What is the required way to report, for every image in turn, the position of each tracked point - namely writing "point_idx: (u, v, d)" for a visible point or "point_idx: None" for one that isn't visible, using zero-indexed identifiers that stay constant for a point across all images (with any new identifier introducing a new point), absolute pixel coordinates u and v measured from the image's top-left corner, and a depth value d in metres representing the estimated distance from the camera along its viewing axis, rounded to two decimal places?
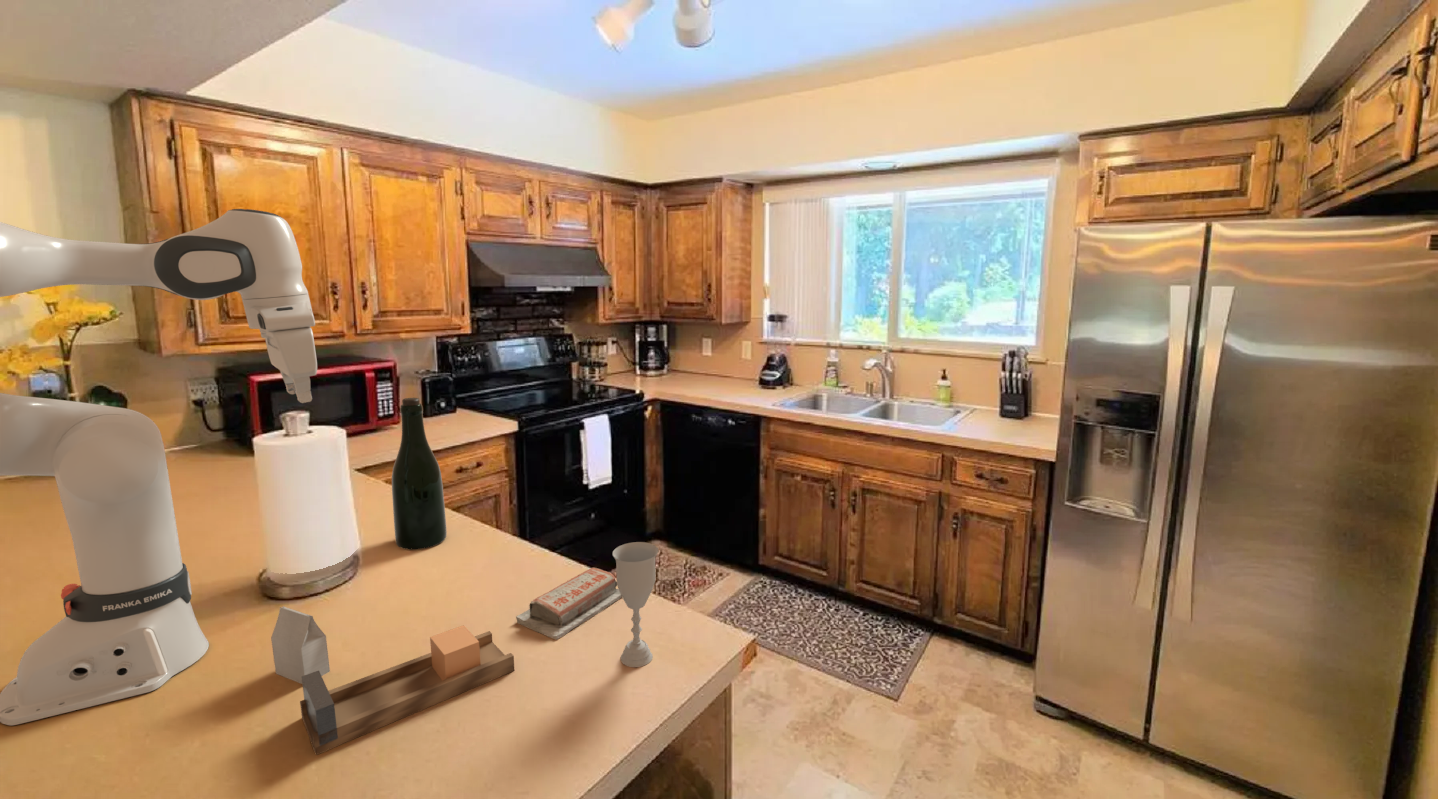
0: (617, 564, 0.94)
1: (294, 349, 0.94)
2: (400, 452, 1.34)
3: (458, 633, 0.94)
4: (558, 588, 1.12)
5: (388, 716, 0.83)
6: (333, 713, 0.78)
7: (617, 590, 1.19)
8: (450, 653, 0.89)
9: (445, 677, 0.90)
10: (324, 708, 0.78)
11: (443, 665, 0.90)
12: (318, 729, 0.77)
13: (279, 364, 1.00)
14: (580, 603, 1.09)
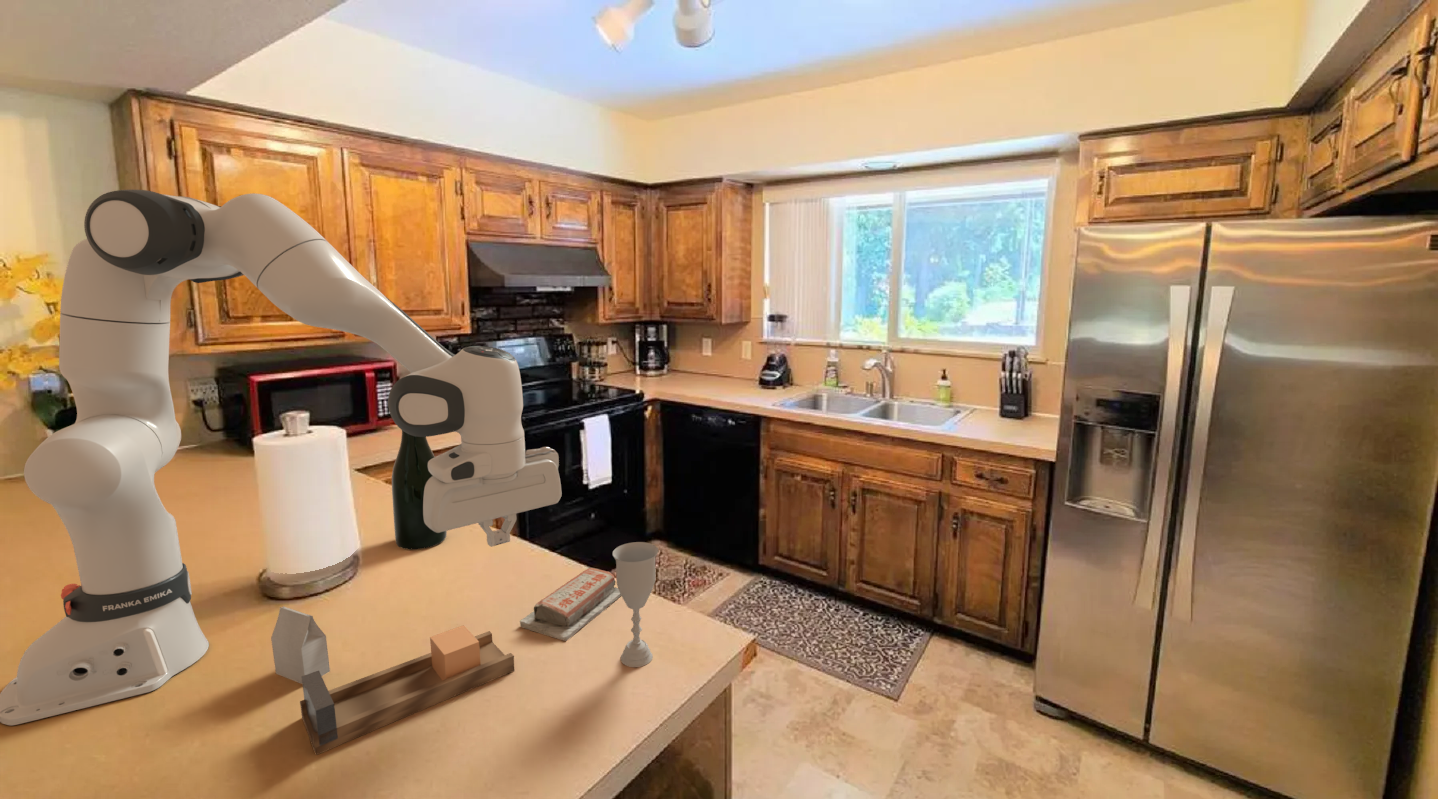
0: (617, 564, 0.94)
1: (426, 500, 0.87)
2: (400, 452, 1.34)
3: (458, 633, 0.94)
4: (560, 590, 1.11)
5: (388, 716, 0.83)
6: (333, 713, 0.78)
7: (616, 589, 1.19)
8: (450, 653, 0.89)
9: (445, 677, 0.90)
10: (324, 708, 0.78)
11: (443, 665, 0.90)
12: (318, 729, 0.77)
13: None
14: (584, 603, 1.09)
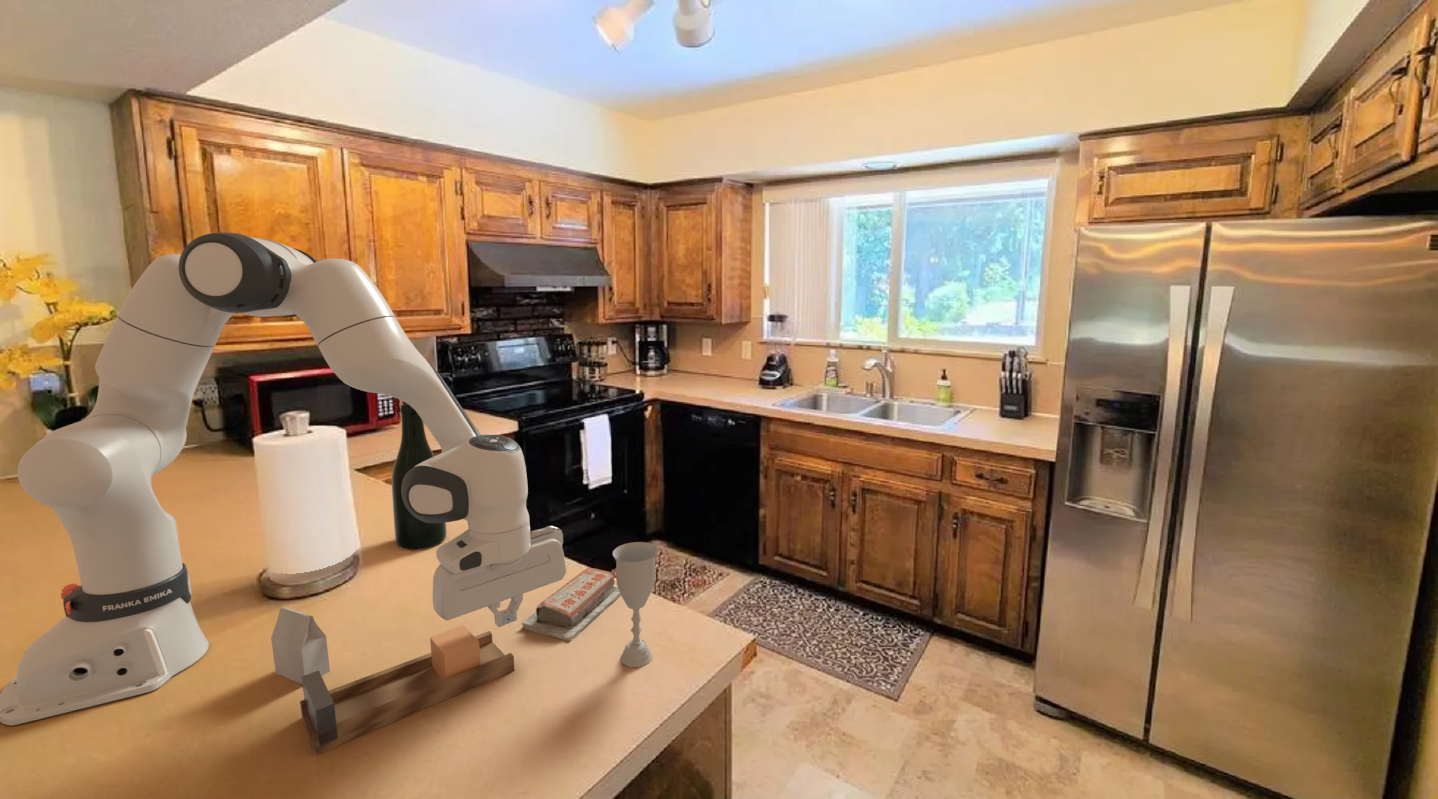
0: (617, 564, 0.94)
1: (436, 588, 0.90)
2: (400, 452, 1.34)
3: (458, 633, 0.94)
4: (561, 590, 1.11)
5: (388, 716, 0.83)
6: (333, 713, 0.78)
7: (615, 588, 1.19)
8: (450, 653, 0.89)
9: (445, 677, 0.90)
10: (324, 708, 0.78)
11: (443, 665, 0.90)
12: (318, 729, 0.77)
13: None
14: (586, 603, 1.09)
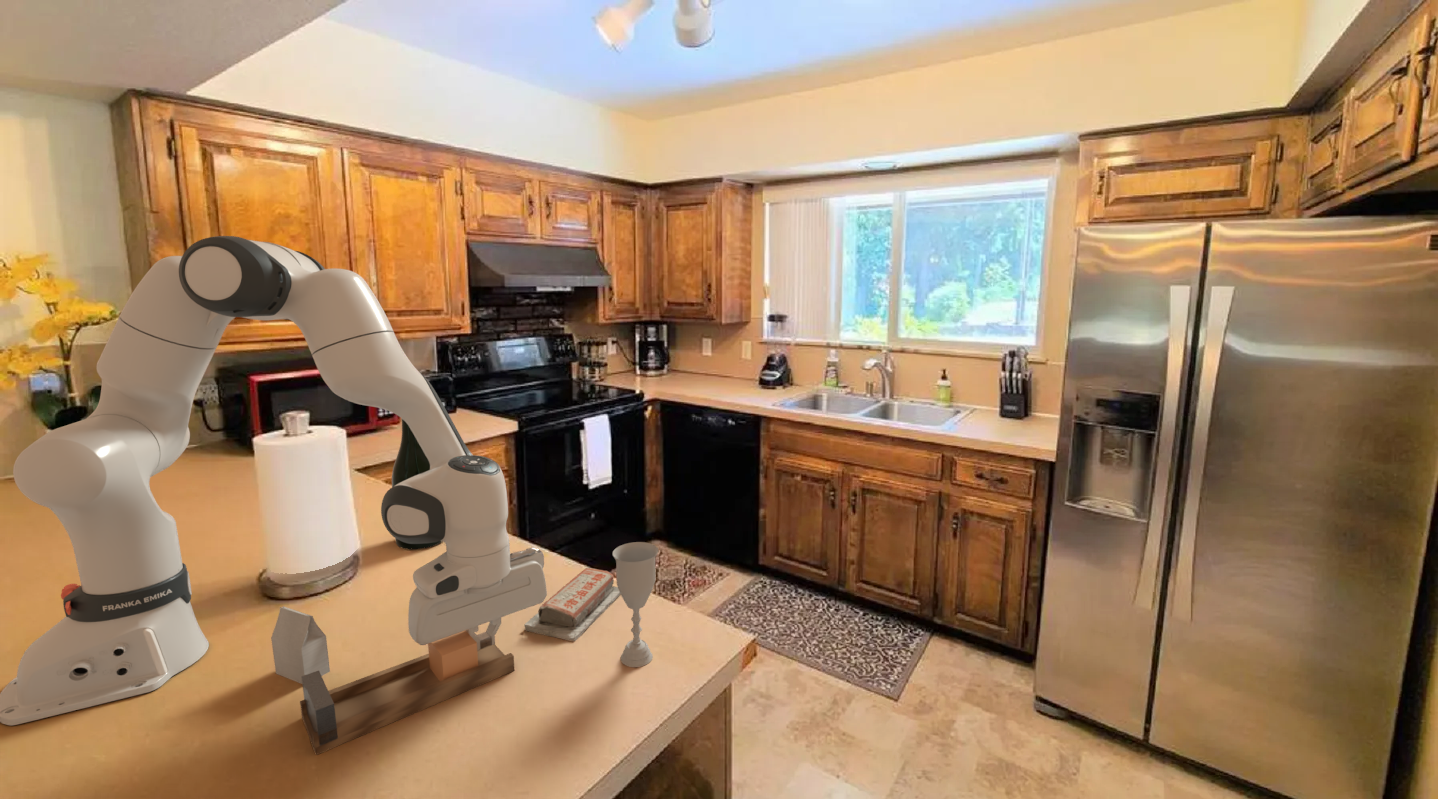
0: (617, 564, 0.94)
1: (411, 612, 0.88)
2: (400, 452, 1.34)
3: (456, 634, 0.94)
4: (562, 591, 1.11)
5: (388, 716, 0.83)
6: (333, 713, 0.78)
7: (614, 587, 1.19)
8: (447, 653, 0.89)
9: (442, 678, 0.89)
10: (324, 708, 0.78)
11: (440, 666, 0.89)
12: (318, 729, 0.77)
13: None
14: (589, 603, 1.09)
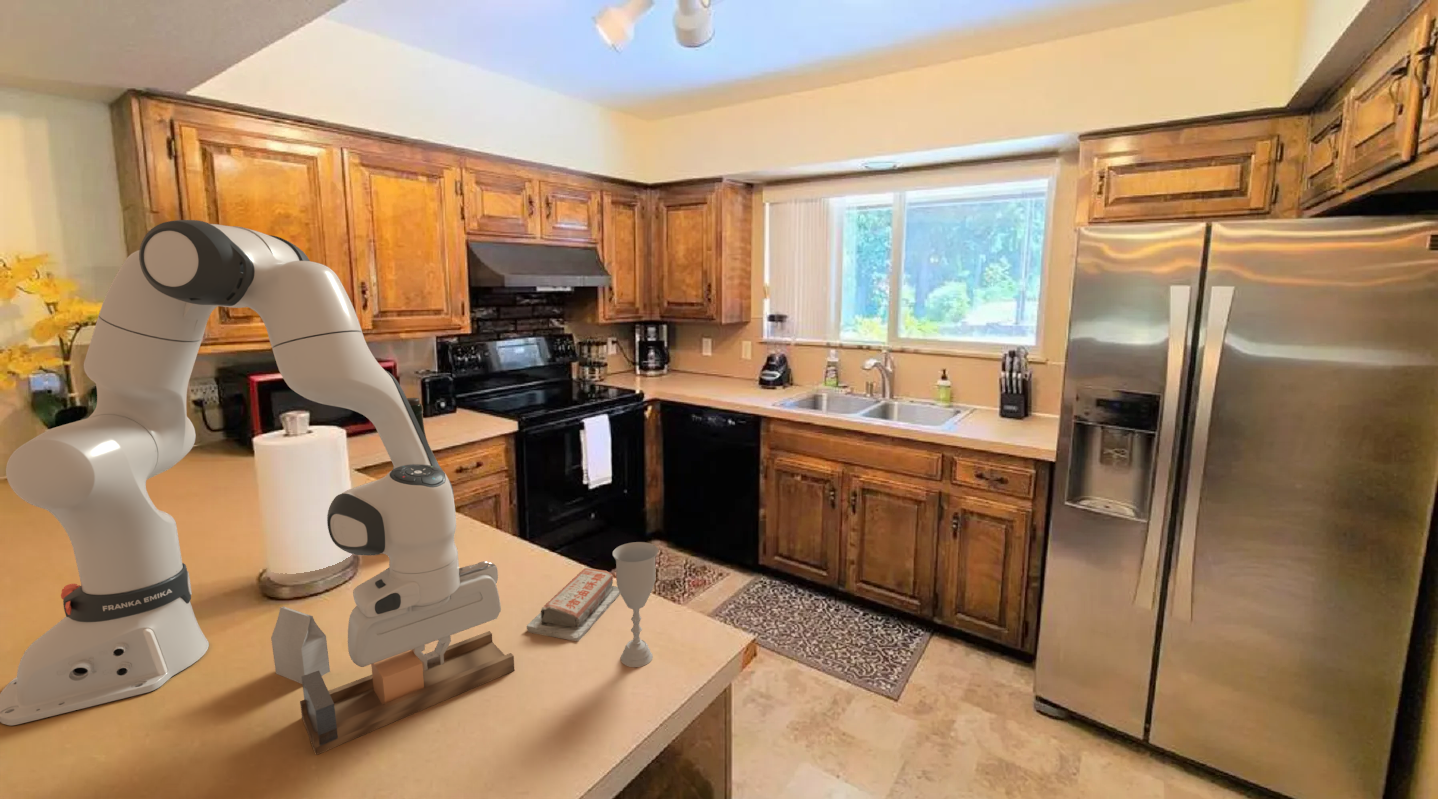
0: (617, 564, 0.94)
1: (350, 632, 0.83)
2: None
3: (401, 654, 0.89)
4: (563, 591, 1.11)
5: (388, 716, 0.83)
6: (333, 713, 0.78)
7: (614, 587, 1.20)
8: (389, 676, 0.84)
9: (384, 701, 0.84)
10: (324, 708, 0.78)
11: (382, 689, 0.84)
12: (318, 729, 0.77)
13: None
14: (590, 602, 1.09)
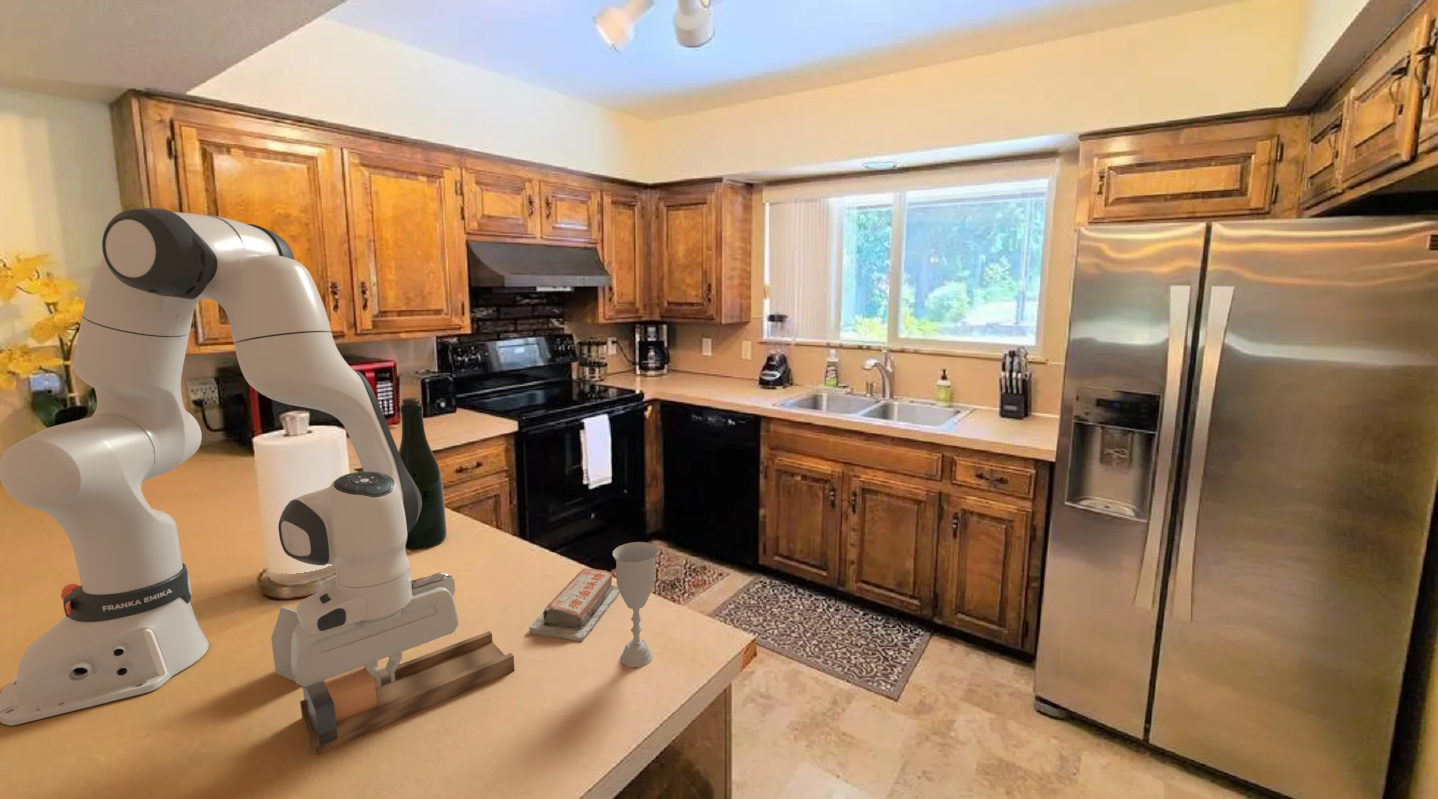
0: (617, 564, 0.94)
1: (293, 650, 0.79)
2: (400, 452, 1.34)
3: (354, 671, 0.85)
4: (564, 592, 1.10)
5: (388, 716, 0.83)
6: (333, 713, 0.78)
7: (613, 587, 1.20)
8: (338, 695, 0.80)
9: None
10: (324, 708, 0.78)
11: None
12: (318, 729, 0.77)
13: None
14: (592, 602, 1.09)
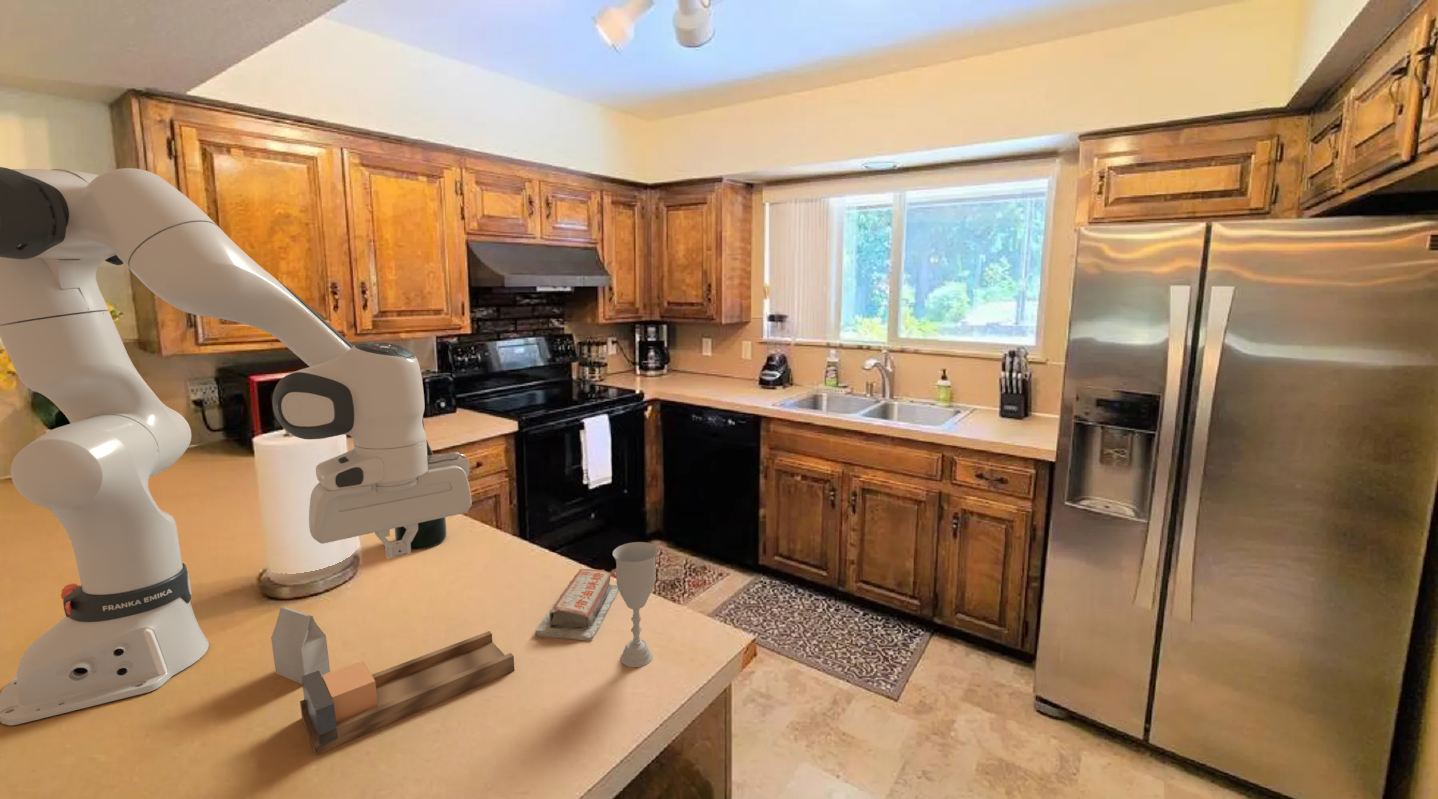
0: (617, 564, 0.94)
1: (311, 507, 0.80)
2: None
3: (354, 670, 0.85)
4: (567, 593, 1.10)
5: (388, 716, 0.83)
6: (333, 713, 0.78)
7: (611, 586, 1.20)
8: (339, 695, 0.80)
9: None
10: (324, 708, 0.78)
11: None
12: (318, 729, 0.77)
13: None
14: (597, 602, 1.10)
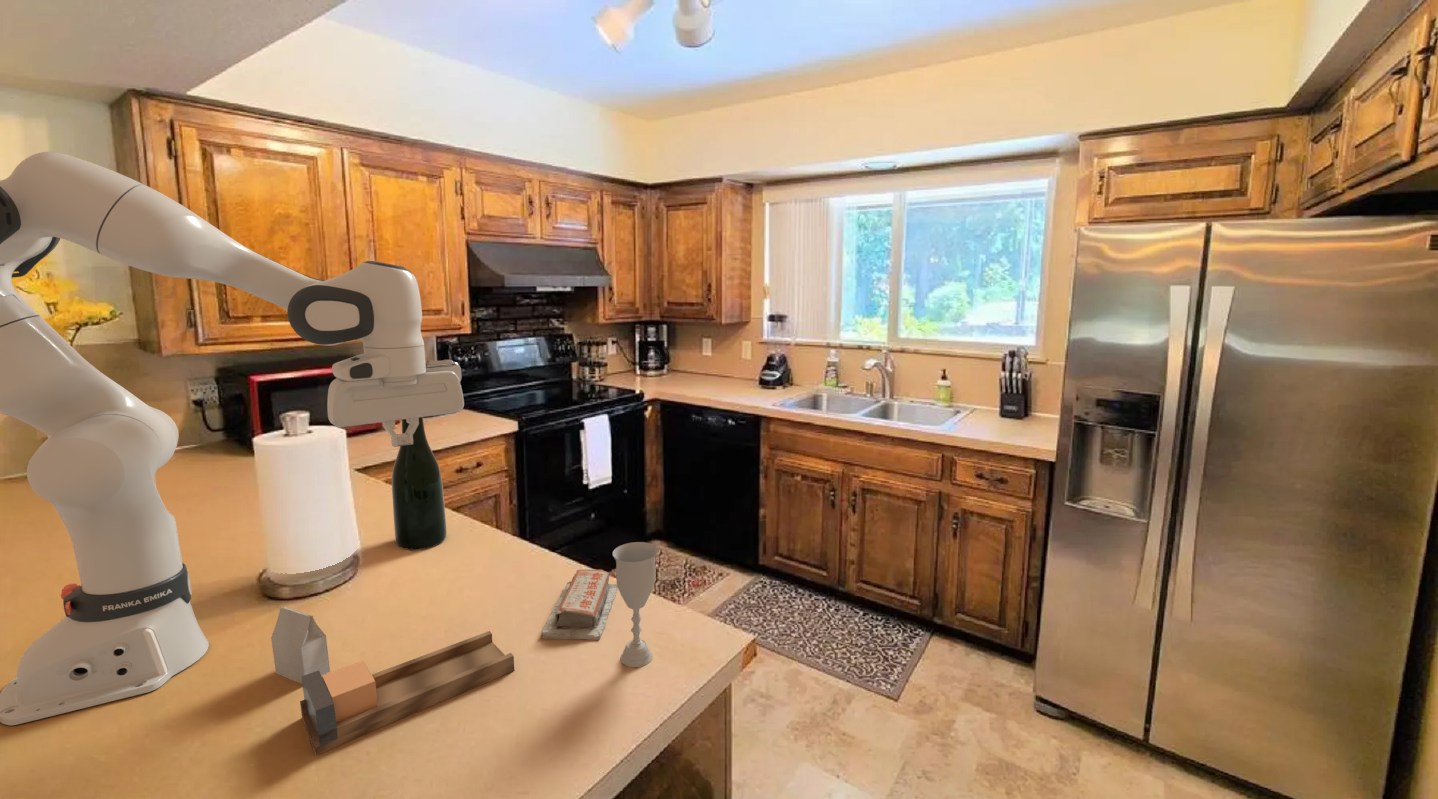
0: (617, 564, 0.94)
1: (329, 398, 0.96)
2: (400, 452, 1.34)
3: (354, 670, 0.85)
4: (570, 594, 1.10)
5: (388, 716, 0.83)
6: (333, 713, 0.78)
7: (609, 585, 1.20)
8: (339, 695, 0.80)
9: None
10: (324, 708, 0.78)
11: None
12: (318, 729, 0.77)
13: None
14: (600, 601, 1.10)
